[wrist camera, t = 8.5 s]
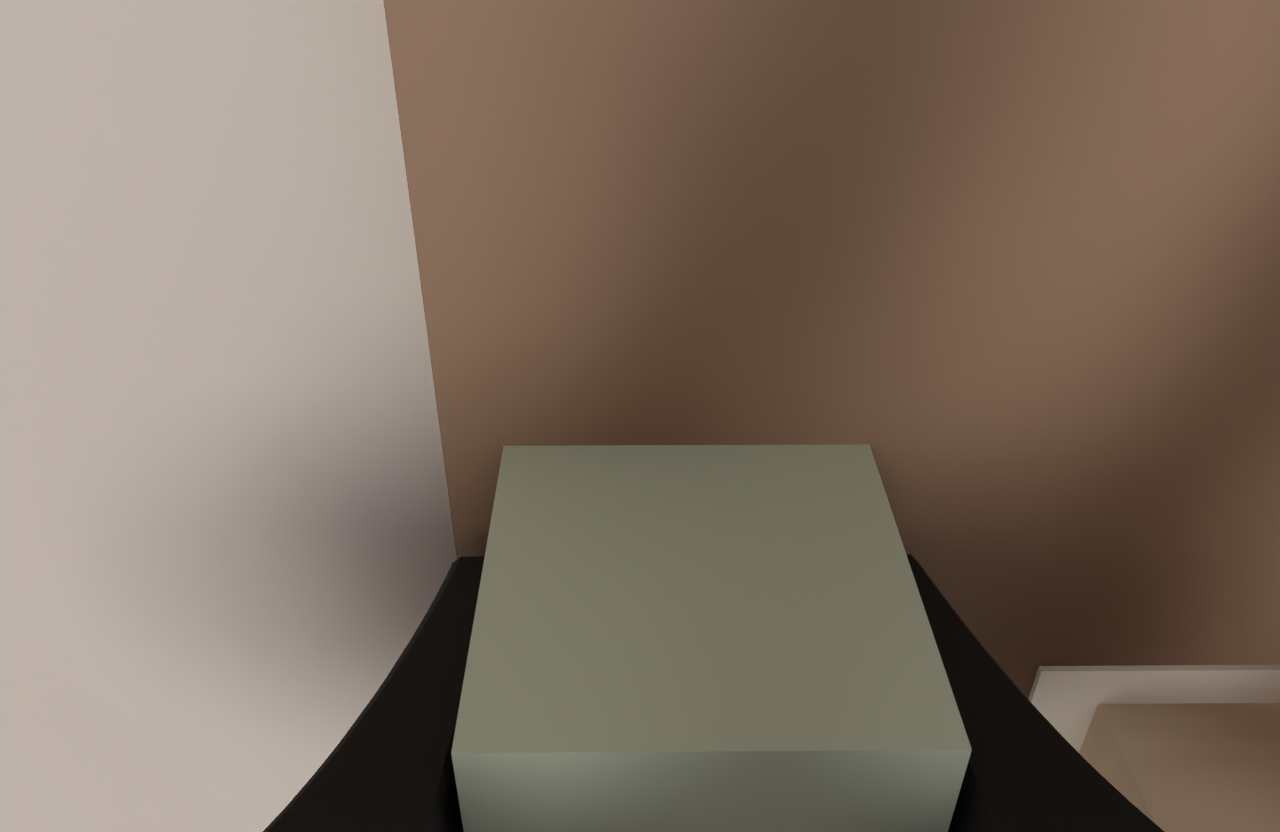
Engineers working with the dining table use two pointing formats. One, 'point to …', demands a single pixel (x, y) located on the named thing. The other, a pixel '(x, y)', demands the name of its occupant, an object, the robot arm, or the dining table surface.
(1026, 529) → the board
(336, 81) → the dining table surface
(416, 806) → the robot arm
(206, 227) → the dining table surface
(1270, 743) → the beech block
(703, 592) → the sage block
